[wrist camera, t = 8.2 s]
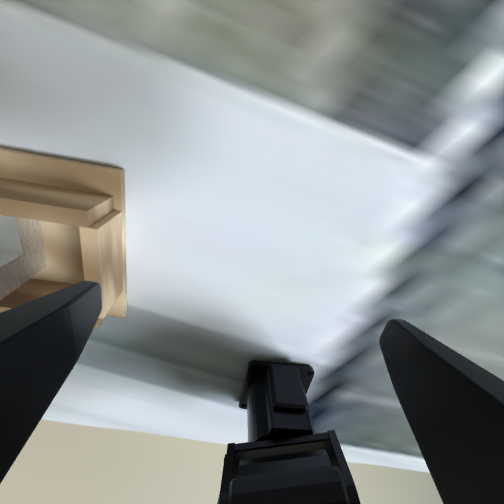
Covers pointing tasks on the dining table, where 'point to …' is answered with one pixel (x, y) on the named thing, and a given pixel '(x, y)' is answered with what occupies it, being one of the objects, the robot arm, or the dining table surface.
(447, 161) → the dining table surface
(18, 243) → the bracket
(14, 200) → the light wood shallow box
